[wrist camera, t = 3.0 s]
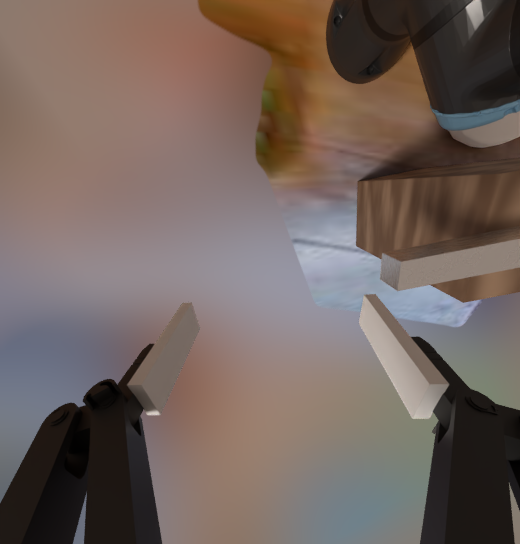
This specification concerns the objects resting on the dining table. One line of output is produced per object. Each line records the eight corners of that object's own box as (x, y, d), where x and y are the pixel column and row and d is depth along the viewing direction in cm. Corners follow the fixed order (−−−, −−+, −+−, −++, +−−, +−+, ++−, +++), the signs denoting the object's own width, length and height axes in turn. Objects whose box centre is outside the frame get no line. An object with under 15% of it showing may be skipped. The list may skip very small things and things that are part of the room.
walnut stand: (356, 245, 52) (463, 302, 26) (357, 181, 45) (502, 173, 20) (414, 234, 52) (580, 280, 26) (424, 168, 45) (658, 142, 20)
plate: (581, 120, 39) (448, 166, 41) (538, 125, 45) (423, 165, 47) (692, -136, 25) (483, -48, 27) (609, -82, 31) (441, -12, 33)
